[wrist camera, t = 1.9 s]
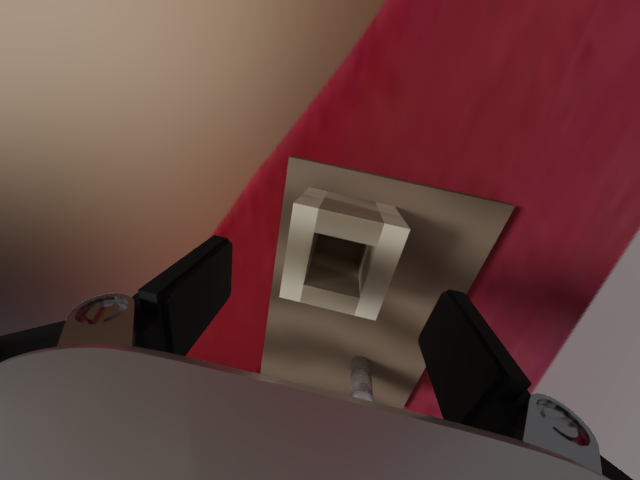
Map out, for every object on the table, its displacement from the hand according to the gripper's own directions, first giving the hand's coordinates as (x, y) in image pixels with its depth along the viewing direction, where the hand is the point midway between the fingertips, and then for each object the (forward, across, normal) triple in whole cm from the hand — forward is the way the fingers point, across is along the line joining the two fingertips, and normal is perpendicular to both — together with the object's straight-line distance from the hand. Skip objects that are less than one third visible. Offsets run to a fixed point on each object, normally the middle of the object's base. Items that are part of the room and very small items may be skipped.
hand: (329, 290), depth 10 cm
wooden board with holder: (+9, -4, +8) cm, 13 cm away
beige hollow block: (+8, 0, +1) cm, 8 cm away
